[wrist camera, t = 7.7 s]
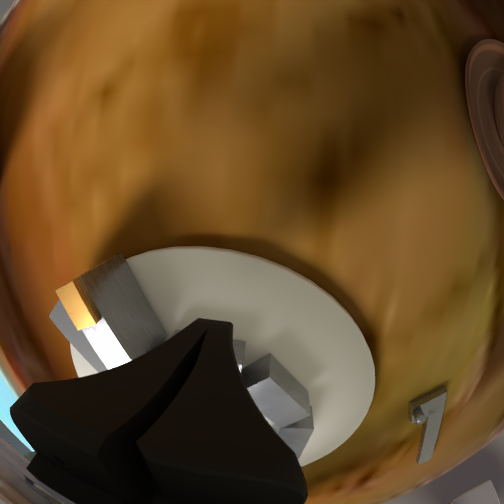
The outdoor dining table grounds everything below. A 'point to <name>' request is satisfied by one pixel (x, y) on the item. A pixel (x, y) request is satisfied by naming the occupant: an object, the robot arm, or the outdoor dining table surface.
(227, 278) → the white round disc
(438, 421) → the pin spanner
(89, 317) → the grey block crown
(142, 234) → the outdoor dining table surface
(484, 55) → the cup and saucer
